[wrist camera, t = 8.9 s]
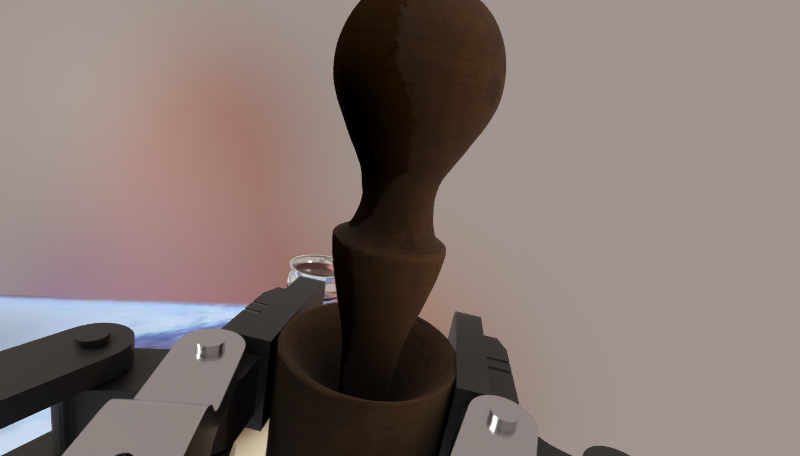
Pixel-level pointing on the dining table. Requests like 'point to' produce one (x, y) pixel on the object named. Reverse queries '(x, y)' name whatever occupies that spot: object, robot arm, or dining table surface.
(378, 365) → the mortar and pestle
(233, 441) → the robot arm
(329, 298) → the wineglass
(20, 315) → the dining table surface
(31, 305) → the dining table surface
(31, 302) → the dining table surface
